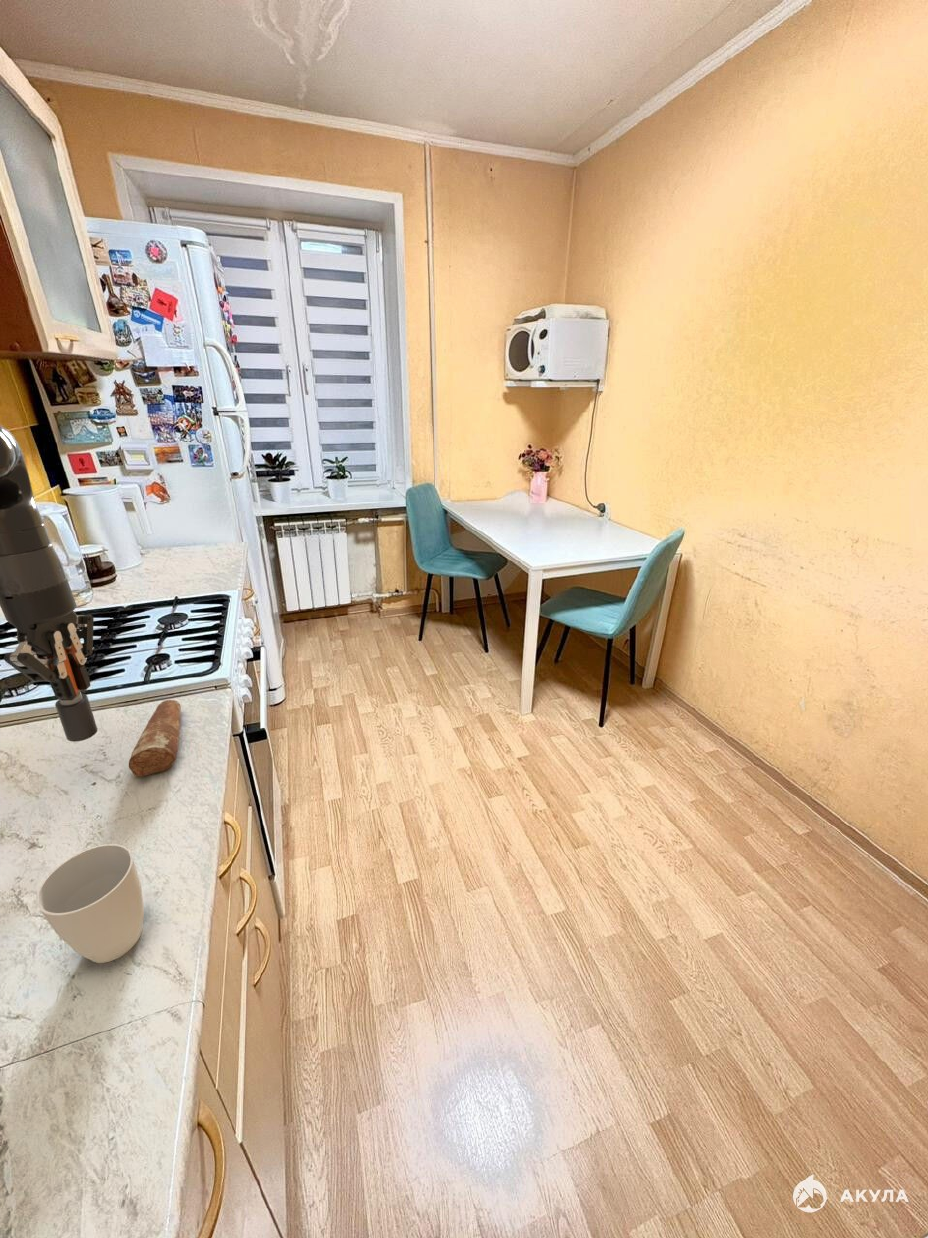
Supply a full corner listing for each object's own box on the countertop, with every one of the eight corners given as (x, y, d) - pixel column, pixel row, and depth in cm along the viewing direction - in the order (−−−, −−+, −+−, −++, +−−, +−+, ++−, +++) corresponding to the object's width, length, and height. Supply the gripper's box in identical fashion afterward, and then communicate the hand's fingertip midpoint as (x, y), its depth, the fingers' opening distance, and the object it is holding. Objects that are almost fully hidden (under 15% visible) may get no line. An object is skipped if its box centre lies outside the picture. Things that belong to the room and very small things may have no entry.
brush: (60, 739, 74) (21, 630, 66) (82, 724, 77) (48, 619, 70) (82, 743, 73) (46, 634, 66) (103, 728, 77) (71, 622, 69)
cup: (162, 895, 60) (139, 835, 55) (151, 961, 53) (123, 897, 49) (83, 919, 57) (52, 857, 53) (59, 992, 50) (22, 927, 46)
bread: (132, 785, 77) (121, 756, 74) (157, 716, 93) (149, 691, 91) (178, 775, 78) (169, 747, 76) (194, 710, 95) (187, 685, 93)
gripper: (43, 565, 71) (83, 669, 79) (-48, 602, 59) (10, 722, 66) (94, 564, 71) (130, 669, 79) (15, 601, 59) (66, 722, 66)
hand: (75, 693), depth 72 cm, fingers closed on brush, 2 cm apart
